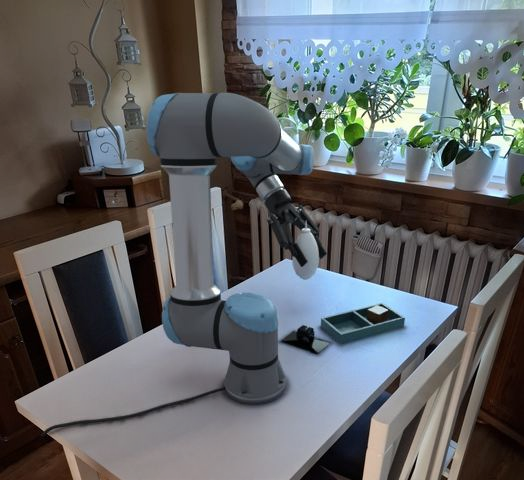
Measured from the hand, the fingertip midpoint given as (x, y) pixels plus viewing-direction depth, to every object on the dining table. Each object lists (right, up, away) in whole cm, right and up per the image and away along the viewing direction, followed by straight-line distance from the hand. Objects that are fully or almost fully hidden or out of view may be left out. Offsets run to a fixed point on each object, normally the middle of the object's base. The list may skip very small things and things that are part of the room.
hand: (314, 260), depth 143 cm
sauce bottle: (-2, -5, +6) cm, 8 cm away
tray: (+14, -20, +1) cm, 24 cm away
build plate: (-3, -24, -5) cm, 25 cm away
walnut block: (+19, -18, +3) cm, 27 cm away
